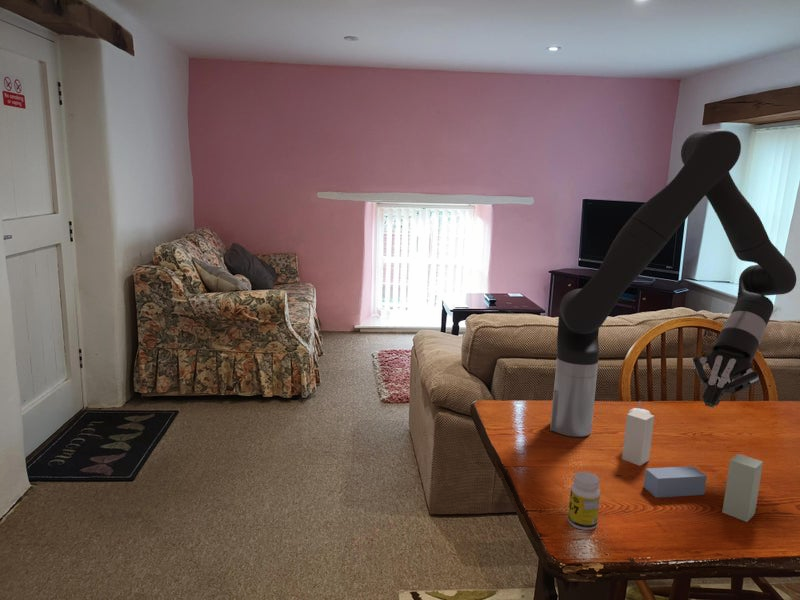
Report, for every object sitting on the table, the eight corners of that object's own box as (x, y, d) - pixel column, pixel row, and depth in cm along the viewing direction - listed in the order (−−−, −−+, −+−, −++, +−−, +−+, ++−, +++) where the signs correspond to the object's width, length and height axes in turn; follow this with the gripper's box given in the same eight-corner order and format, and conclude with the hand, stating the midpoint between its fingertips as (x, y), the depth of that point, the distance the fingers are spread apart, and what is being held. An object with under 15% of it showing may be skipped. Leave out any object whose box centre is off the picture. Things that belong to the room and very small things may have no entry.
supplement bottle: (563, 515, 102) (567, 470, 101) (590, 514, 103) (594, 470, 101) (573, 531, 97) (578, 484, 96) (601, 530, 98) (606, 483, 96)
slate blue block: (690, 485, 115) (643, 487, 113) (692, 466, 114) (645, 468, 112) (703, 495, 111) (655, 498, 109) (706, 476, 110) (658, 478, 109)
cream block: (621, 459, 125) (626, 414, 123) (630, 453, 127) (635, 409, 126) (640, 465, 122) (645, 420, 120) (649, 460, 125) (654, 415, 123)
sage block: (722, 512, 105) (730, 459, 103) (730, 504, 108) (738, 453, 106) (746, 522, 102) (755, 468, 100) (754, 514, 105) (763, 461, 103)
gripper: (704, 320, 127) (671, 385, 121) (773, 333, 117) (742, 405, 111) (709, 340, 131) (678, 404, 125) (777, 355, 122) (746, 425, 116)
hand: (708, 404), depth 118 cm, fingers closed
